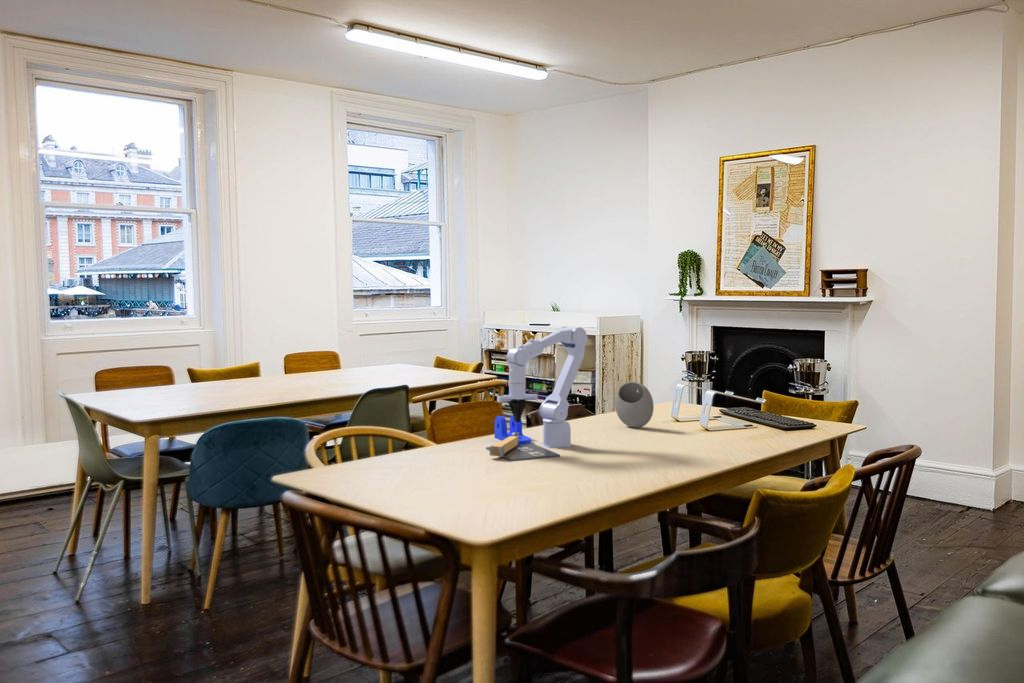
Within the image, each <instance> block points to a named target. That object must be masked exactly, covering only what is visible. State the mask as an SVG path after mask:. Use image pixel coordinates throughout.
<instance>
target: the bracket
mask: <svg viewBox="0 0 1024 683" xmlns="http://www.w3.org/2000/svg"><path fill="white" fill-rule="evenodd" d="M513 432H519V444H529V443H532V439H531V437H529V436H526V435H524V434H523V421H522V419H521V420H520V422H515V421H514V416H513V414H512V415H511V416H510V417H509V431H508V424H507V420H506V417H505V416H503V415H502V416H501V415H498V416H497V415H496V417H495V418H494V438H495V439H496V440H499V441H500V442H501V441H503V440H504V439H506V438H508V437H509V436H512V433H513Z"/></svg>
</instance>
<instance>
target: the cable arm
mask: <svg viewBox="0 0 1024 683" xmlns="http://www.w3.org/2000/svg"><path fill="white" fill-rule="evenodd" d="M517 445H518V436H509V437H508V438H506V439H504V440H503V441H501V440H500V441H499V442H497V443H495V444H494V445H490V446H489V447H490V451H489V456H491V457H492V456H493V457H501V456H503V455H504V453H506V452H507V451H509V450H510V449H512V448H514V447H515V446H517Z"/></svg>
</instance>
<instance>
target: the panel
mask: <svg viewBox="0 0 1024 683" xmlns="http://www.w3.org/2000/svg"><path fill="white" fill-rule="evenodd" d="M512 436H518V445H517V446H515V447H514V448H512V449H510V450H509V451H507V452H506V453H504V455H503V456H500V457H501V458H504V459H506V460H508V461H509V462H515V461H516V462H518V461H525V460H527V461H529V460H537V459H540V460H541V459H548V458H550V459H551V458H560V457H561V454H560V453H557V452H554V451H551V450H549V449H548V448H546V447H543V446H541V445H539V444H538V445H537V444H535V443H532V442H531V443H529V444H519V432H513V433H512ZM485 449H487V450H486V451H488V450H489V451H488V452H490V446H486V447H485Z"/></svg>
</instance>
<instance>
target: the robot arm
mask: <svg viewBox="0 0 1024 683" xmlns="http://www.w3.org/2000/svg"><path fill="white" fill-rule="evenodd" d="M588 339H589V338H588V334H587V332H586V329H584V328H583V327H573V326H566V325H564V326H561V328H557V329H556V330H555V331H553V332H551V333H549V334H548V335H546V336H544V337H543V338H541V339H536V338H529V339H528V342H526V343H524V344H519V345H518V347H517V348H510V349H509V350H508V351H507V354H506V355H505V361H506V363H507V364H508V369H509V370H508V391H509V392H508V394H505V395H497V396H496V401H497V403H506V402H507V404H508V406H509V407H510V410H511V412H512V415H513V416H514V421H515V422H520V420H521V421H522V416H523V412H524V411H525V408H526V406H527V404H528V403H527V401H538V394H537V393H526V384H527V383H526V380H527V379H526V367H527V364H528V362H529V361H530V360H532V359H534V358H536V357H537V356H540V355H542V354H543V352H544V349H546V348H548V347H551V346H553V345H555V344H558V343H560V344H561V345H562V347H563V348H564V349H565V350H566V352H567V356H566V359H565V362H564V364H563V366H562V369H561V370H560V374H559V377H558V379H557V381H556V384H555V387H554V388H553V390H552V393H551V394H549V395H547V396H546V397H545V400H543V402H542V403H541V404H540V406H539V412H538V413H539V415H540V417H541V418H542V422H543V423H542V424H543V425H542V428H543V431H542V432H543V437H542V438H543V440H542V441H543V442H540V443H538V446H540V447H543V448H546V449H555V448H556V449H557V448H564V447H567V448H568V447H572V446H573V445H572V443H571V441H572V440H571V434H572V433H571V430H572V429H571V425H570V423H569V421H567V420H566V419H567V417H568V414H569V413H568V412H569V411H568V410H569V407H570V403H569V401H568V400H567V399H568V396H569V393H570V391H571V389H572V386H573V384H574V381H575V379H576V376H577V374H578V372H579V369H580V367H581V364H582V362H583V359H584V357H585V353H586V352H585V351H586V344H587V342H588Z"/></svg>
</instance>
